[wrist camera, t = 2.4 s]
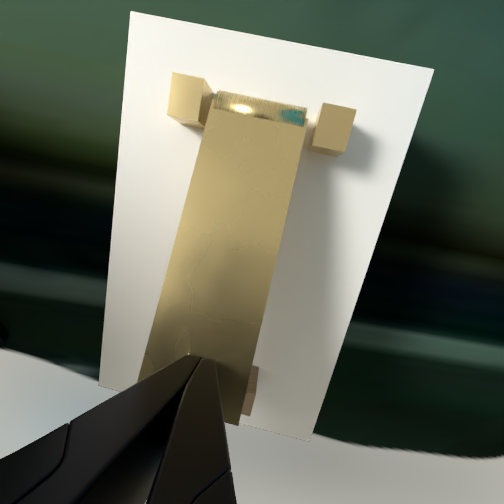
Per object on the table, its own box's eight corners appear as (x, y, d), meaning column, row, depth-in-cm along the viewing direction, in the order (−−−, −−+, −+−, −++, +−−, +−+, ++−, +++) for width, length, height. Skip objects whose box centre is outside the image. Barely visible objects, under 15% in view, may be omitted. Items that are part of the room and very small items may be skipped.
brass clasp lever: (220, 103, 9) (215, 81, 8) (306, 121, 9) (312, 101, 8) (146, 384, 8) (131, 399, 7) (240, 409, 8) (238, 428, 7)
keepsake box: (182, 72, 14) (95, -33, 7) (380, 112, 13) (475, 37, 7) (147, 332, 17) (70, 414, 11) (302, 370, 17) (315, 482, 10)
